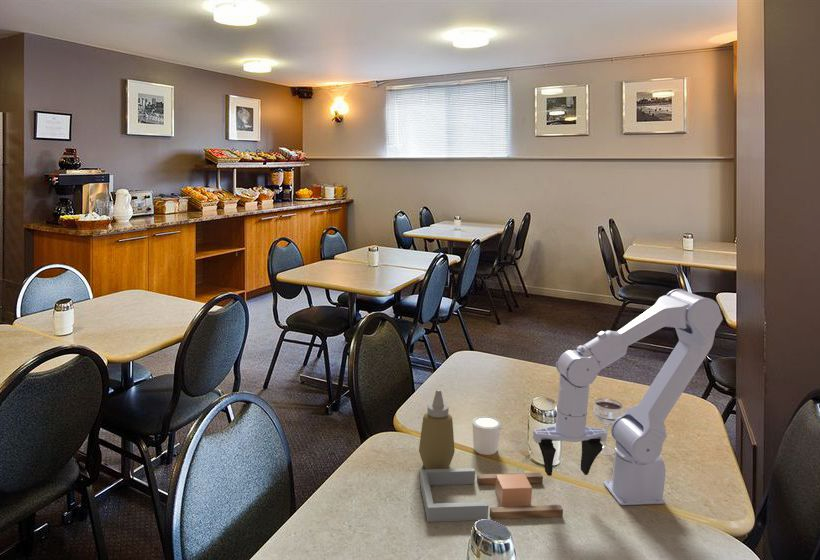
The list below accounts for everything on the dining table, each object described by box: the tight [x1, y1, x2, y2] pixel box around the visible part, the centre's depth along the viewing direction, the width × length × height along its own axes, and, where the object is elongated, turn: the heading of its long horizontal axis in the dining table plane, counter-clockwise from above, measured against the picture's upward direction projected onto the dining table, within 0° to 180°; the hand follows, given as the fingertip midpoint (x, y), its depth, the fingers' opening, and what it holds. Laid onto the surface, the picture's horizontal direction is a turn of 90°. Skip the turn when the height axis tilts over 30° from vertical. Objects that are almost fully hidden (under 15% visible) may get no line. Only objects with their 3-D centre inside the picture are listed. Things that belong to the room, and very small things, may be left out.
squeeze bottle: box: [418, 389, 455, 469], centre depth 116 cm, size 8×8×18 cm
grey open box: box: [419, 467, 489, 523], centre depth 105 cm, size 12×13×3 cm
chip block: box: [494, 473, 533, 507], centre depth 106 cm, size 6×5×4 cm
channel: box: [476, 472, 564, 520], centre depth 106 cm, size 14×13×2 cm
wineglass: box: [592, 397, 624, 456], centre depth 125 cm, size 7×7×12 cm
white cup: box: [471, 415, 502, 456], centre depth 125 cm, size 7×7×7 cm
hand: (566, 472), depth 106 cm, fingers open, 7 cm apart
